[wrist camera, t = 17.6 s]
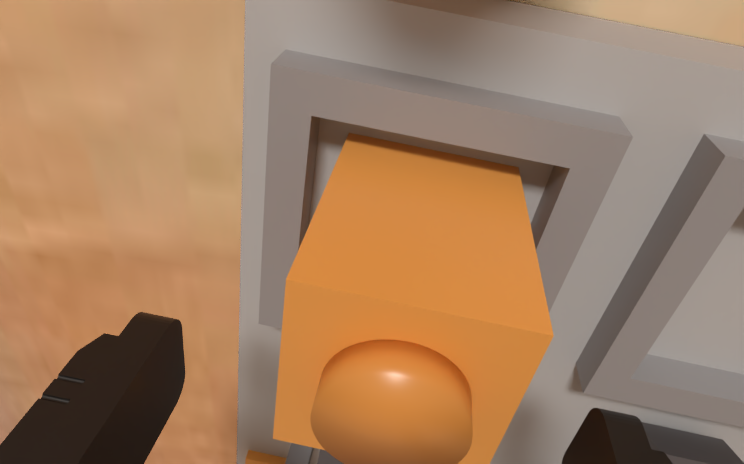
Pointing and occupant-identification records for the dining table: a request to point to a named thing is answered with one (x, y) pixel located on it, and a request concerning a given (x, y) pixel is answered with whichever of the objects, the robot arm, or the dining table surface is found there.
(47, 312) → the dining table surface
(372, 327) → the cap
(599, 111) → the breaker panel
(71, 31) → the dining table surface
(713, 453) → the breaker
